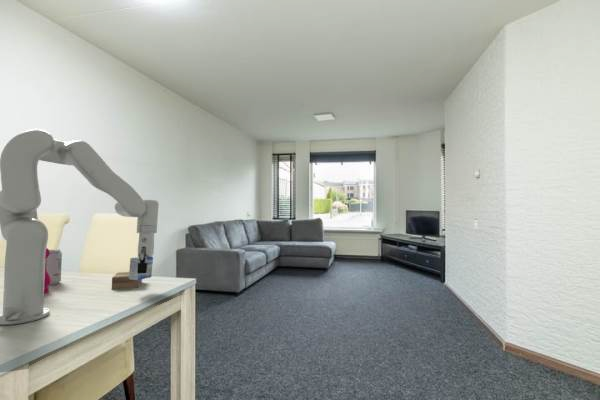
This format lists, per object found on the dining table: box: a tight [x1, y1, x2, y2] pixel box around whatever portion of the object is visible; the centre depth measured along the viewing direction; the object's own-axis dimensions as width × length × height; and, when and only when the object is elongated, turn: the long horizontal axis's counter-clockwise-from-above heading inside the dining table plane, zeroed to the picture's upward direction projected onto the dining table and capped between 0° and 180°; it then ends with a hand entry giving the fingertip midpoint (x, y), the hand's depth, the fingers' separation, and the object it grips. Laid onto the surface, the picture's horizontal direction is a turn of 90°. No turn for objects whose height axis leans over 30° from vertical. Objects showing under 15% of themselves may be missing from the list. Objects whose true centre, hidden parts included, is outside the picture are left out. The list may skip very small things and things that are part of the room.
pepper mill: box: [44, 247, 51, 295], centre depth 121 cm, size 7×7×20 cm
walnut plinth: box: [111, 271, 143, 291], centre depth 134 cm, size 10×10×5 cm
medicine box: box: [128, 256, 154, 280], centre depth 123 cm, size 8×4×9 cm, turn 166°
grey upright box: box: [46, 248, 63, 286], centre depth 134 cm, size 6×6×15 cm
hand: (143, 270), depth 124 cm, fingers closed on medicine box, 9 cm apart
